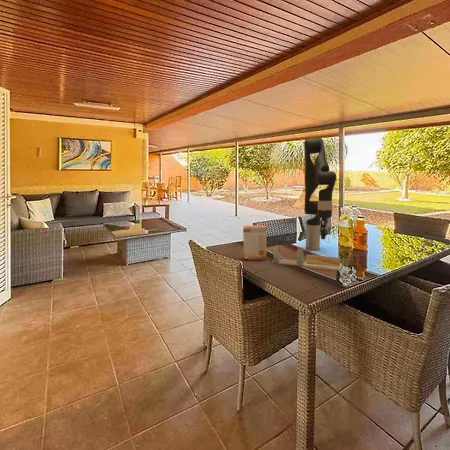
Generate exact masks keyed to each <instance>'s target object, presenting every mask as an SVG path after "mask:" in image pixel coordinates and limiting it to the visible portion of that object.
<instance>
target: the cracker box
mask: <svg viewBox="0 0 450 450" xmlns="http://www.w3.org/2000/svg"><path fill="white" fill-rule="evenodd" d="M242 232H243V237H242V239H243V260H244V259H248V260H247V261H267V226H266V225H243V231H242ZM249 259H250V260H249Z"/></svg>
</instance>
